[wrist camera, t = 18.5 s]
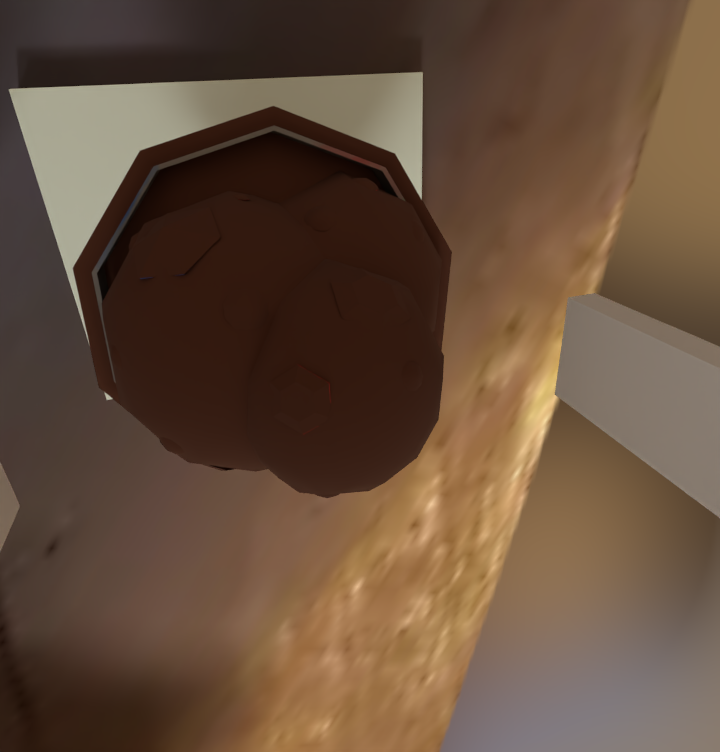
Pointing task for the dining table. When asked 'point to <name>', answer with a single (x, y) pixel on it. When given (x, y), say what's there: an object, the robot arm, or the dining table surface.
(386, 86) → the board
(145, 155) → the ice cream bowl
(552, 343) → the dining table surface
